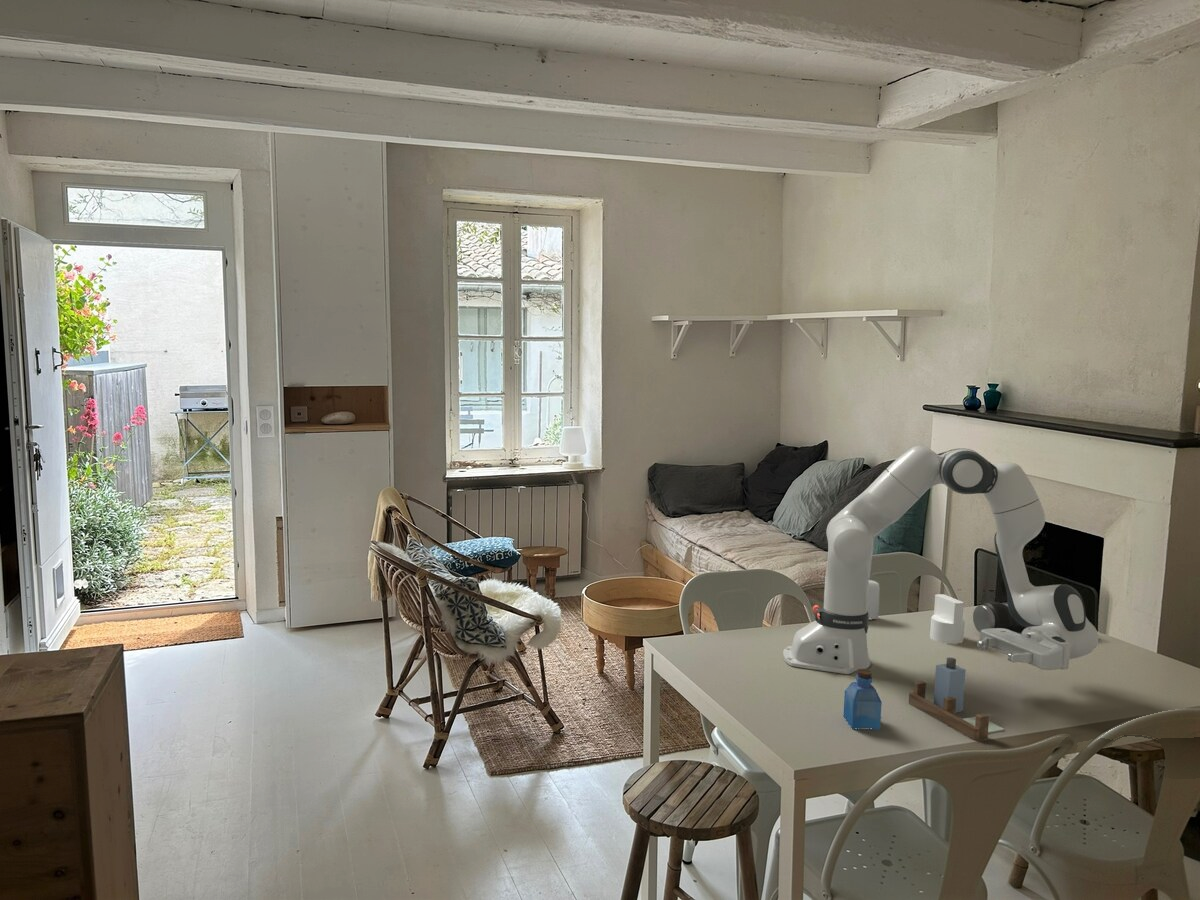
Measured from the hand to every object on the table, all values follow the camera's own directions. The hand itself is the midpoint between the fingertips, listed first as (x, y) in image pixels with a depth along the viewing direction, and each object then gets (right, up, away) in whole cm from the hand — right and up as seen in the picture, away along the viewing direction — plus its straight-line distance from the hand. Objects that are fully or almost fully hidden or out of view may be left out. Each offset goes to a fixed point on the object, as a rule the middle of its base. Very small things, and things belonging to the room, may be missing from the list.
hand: (994, 651), depth 208 cm
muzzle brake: (+31, -7, +52) cm, 61 cm away
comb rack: (-12, -13, -8) cm, 19 cm away
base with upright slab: (+7, -7, +47) cm, 48 cm away
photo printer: (-12, -5, +64) cm, 66 cm away
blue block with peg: (-12, -13, -3) cm, 18 cm away
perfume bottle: (-35, -13, -12) cm, 39 cm away
